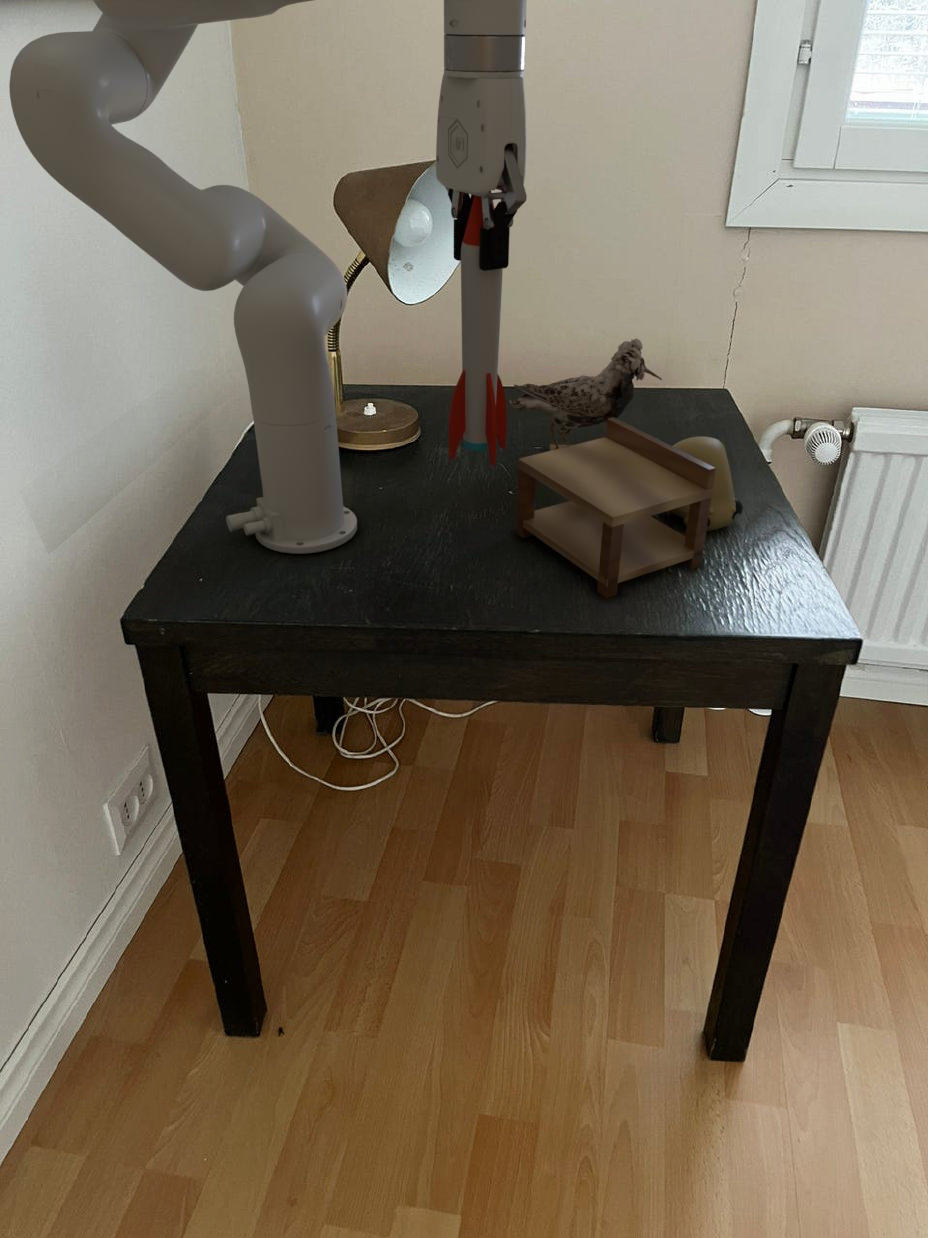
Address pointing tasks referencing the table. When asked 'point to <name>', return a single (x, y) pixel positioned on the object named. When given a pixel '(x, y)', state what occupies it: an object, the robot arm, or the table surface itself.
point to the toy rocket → (478, 352)
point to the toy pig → (722, 498)
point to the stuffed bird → (587, 393)
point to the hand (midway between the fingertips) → (480, 261)
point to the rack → (617, 504)
